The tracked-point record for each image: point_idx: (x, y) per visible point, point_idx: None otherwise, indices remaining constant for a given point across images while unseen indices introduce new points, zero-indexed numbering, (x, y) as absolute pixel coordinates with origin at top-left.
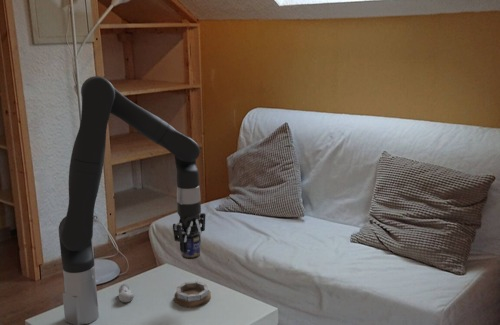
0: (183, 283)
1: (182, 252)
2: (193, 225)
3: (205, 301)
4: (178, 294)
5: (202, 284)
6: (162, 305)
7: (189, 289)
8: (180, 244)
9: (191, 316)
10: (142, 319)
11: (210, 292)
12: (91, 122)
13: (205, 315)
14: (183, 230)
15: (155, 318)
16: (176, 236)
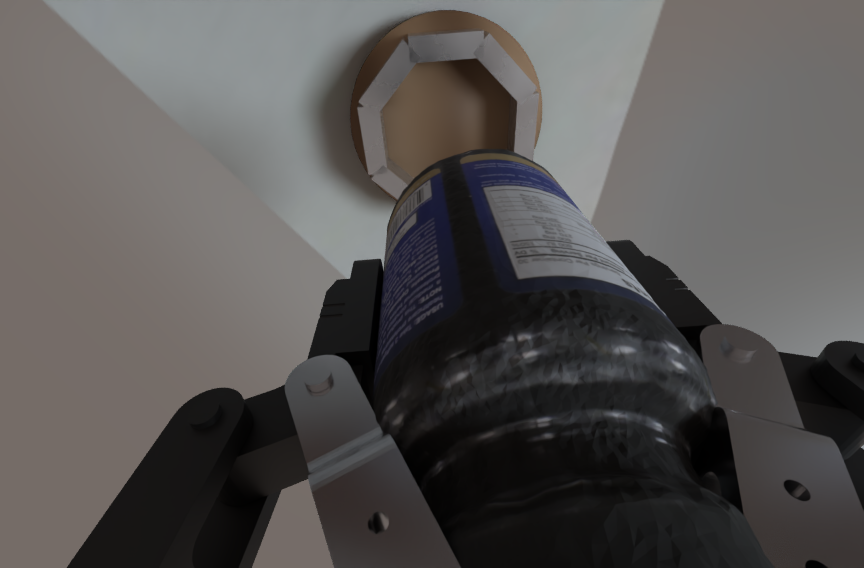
0: (471, 34)
1: (387, 240)
2: None
3: None
4: (358, 111)
5: (519, 146)
6: (286, 36)
7: (479, 70)
8: (316, 348)
9: (329, 226)
10: (124, 62)
11: None
12: None
13: None
14: (458, 473)
15: (190, 113)
16: (185, 486)
